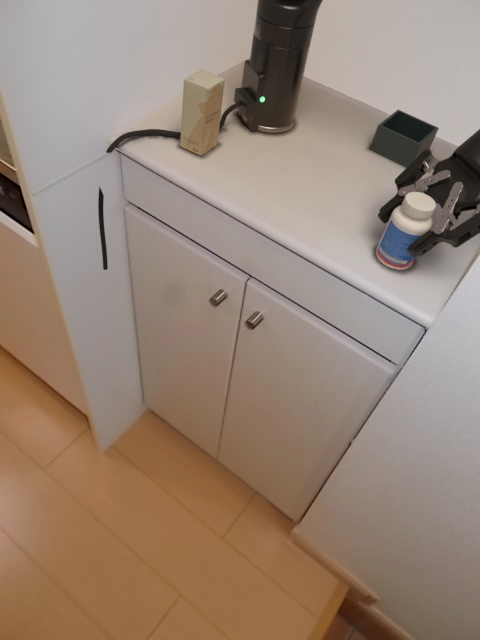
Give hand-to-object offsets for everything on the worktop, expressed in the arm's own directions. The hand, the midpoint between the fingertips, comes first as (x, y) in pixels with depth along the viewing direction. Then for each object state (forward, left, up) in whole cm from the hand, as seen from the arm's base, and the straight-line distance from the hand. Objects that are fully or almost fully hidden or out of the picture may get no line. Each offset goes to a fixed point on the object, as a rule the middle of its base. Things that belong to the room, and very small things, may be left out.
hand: (395, 236), depth 70 cm
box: (-15, +33, -5) cm, 36 cm away
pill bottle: (+2, 0, -5) cm, 5 cm away
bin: (+19, +24, -4) cm, 31 cm away
